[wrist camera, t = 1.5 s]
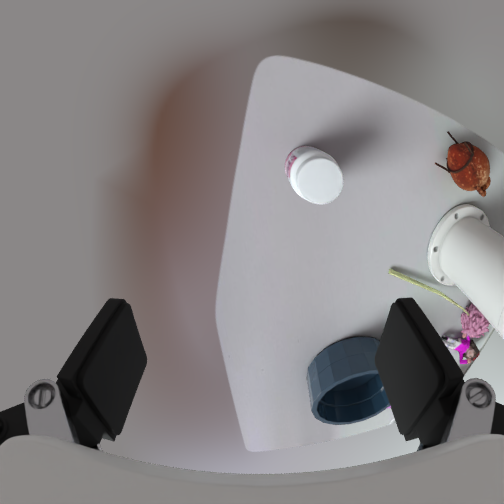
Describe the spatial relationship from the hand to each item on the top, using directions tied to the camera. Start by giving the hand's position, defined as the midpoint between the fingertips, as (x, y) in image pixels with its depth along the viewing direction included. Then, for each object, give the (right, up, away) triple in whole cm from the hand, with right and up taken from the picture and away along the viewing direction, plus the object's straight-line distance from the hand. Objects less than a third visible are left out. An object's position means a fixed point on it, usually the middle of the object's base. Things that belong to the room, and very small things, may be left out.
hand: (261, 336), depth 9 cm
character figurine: (+39, -14, +32) cm, 52 cm away
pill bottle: (+6, +12, +21) cm, 25 cm away
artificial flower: (+29, -4, +28) cm, 41 cm away
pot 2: (+26, +13, +13) cm, 31 cm away
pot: (+16, -16, +34) cm, 41 cm away
